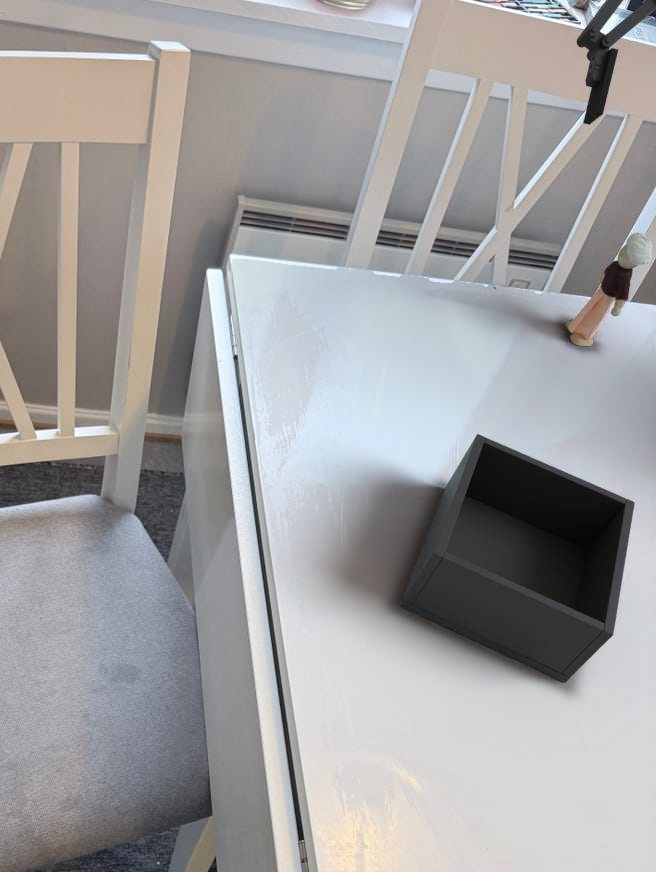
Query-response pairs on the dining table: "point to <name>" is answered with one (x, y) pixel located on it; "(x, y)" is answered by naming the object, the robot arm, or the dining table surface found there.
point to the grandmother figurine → (610, 290)
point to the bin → (523, 559)
